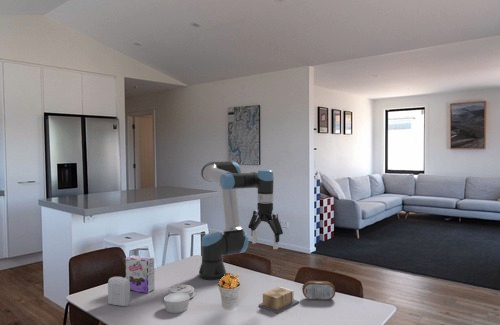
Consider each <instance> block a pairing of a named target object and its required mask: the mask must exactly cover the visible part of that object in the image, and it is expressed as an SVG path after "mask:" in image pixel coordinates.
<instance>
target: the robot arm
mask: <svg viewBox="0 0 500 325" xmlns="http://www.w3.org/2000/svg"><path fill="white" fill-rule="evenodd" d="M200 175H201V177H202V179H203V180H204V181H206V182H209V183H212V182H213V183H216V184H218V185H219V186H220V188H221V194H222V204H223V213H224V225H225V229H224V230H223V232H220V231H214V232H213V231H212V232H209V233H206V234H204V235H203V236H202V237H201V243H200V244H201V263H200V264H201V265H200V267H199V271H198V277H199V278H200V279H202V280H208V281H209V280H211V281H213V280H219V279H222V278H221V277H223V276H224V274H225V273H226V274H227V270H226V267H225V264H224V260H223V259H224V257H223V256H230V255H239V254H241V253H242V254H243V253H245V252H246V251H247V249H248V246H249V236H248V233H247V232H245V231H244V228H243V227H242V226H241V220H240V218H241V217H240V210H239V202H238V191H237V189H257V204H256V205H257V206H256V208H257V209H256V210H253V211H252V217H251V219H250V221H249V223H248V229H250V230H251V238H252V239H251V241H252V243H251V244H252V245H253V244H257V243H258V229H257V228H258V227H259V225H261V223H262V222H264V223H267V224H268V225H269V227H270V228H271V231H272V233H273V238H272V239H273V240H272V241H273V242H272V243H273V244H272V247H273V250H277V249H279V242H280V236H281V235H283V234H284V231H283V228H282V225H281V223H280V220H279V214H278V213H273V210H274V203H273V202H274V179H275V178H274V171H273V170H271V169H258V170H257V172H256V171H251V172H242V170H241V168H240V165H239V163H238V162H236V161H230V160H229V161H211V162H208V163H206V164H204V165H203V166H202V167H201V170H200ZM223 278H224V277H223Z"/></svg>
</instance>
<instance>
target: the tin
mask: <svg viewBox="0 0 500 325" xmlns="http://www.w3.org/2000/svg"><path fill="white" fill-rule="evenodd" d="M302 294H303V296H304V297H305V298H306V299H307V300H311V301H330V300H332V299H333V298H334V297H335V296H336V287H335V285H334V284H333V283H332V282H330V281H327V280H326V281H325V280H307V281H306V282H305V283H303V285H302Z"/></svg>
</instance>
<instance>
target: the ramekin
mask: <svg viewBox="0 0 500 325" xmlns="http://www.w3.org/2000/svg"><path fill="white" fill-rule="evenodd" d="M190 299H191V298H190V296H189V295H188V294H186V293H173V294H169V295H168V294H167V295H165V296H164V297H163V303H164V305H165V306H164V307H165V310H166V311H167V312H168V313H170V314H179V313H183V312H185V311H187V309H189V304H190Z"/></svg>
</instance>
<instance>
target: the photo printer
mask: <svg viewBox="0 0 500 325" xmlns="http://www.w3.org/2000/svg"><path fill="white" fill-rule="evenodd" d="M107 303H108V304H109V305H114V306H119V307H120V306H121V307H128V306H129V305H130V304H131V291H130V281H129V280H128V279H126V277H122V276H112V277H110V278H109V279H108V282H107Z"/></svg>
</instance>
